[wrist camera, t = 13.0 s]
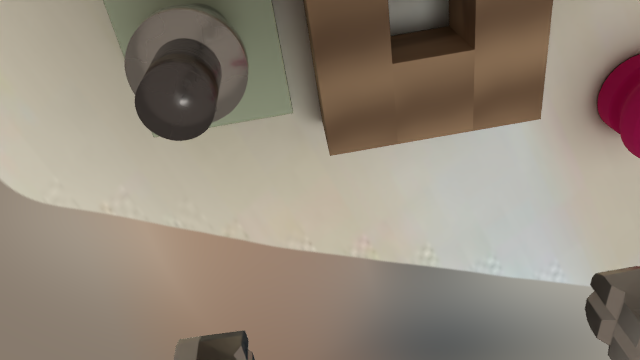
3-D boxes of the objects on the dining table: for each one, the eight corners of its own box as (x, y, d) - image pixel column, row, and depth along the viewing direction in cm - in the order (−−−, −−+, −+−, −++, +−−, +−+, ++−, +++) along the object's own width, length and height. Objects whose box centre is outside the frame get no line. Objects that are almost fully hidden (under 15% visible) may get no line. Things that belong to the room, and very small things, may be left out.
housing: (282, -129, 29) (286, -127, 25) (526, -172, 29) (571, -176, 25) (322, 122, 37) (330, 155, 33) (509, 89, 37) (540, 118, 33)
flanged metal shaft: (133, -8, 31) (79, 51, 22) (237, -26, 31) (227, 25, 22) (166, 90, 34) (131, 175, 25) (259, 74, 34) (258, 153, 25)
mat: (84, -65, 29) (80, -63, 29) (253, -94, 30) (253, -93, 29) (155, 132, 37) (153, 137, 36) (292, 108, 37) (292, 113, 36)
